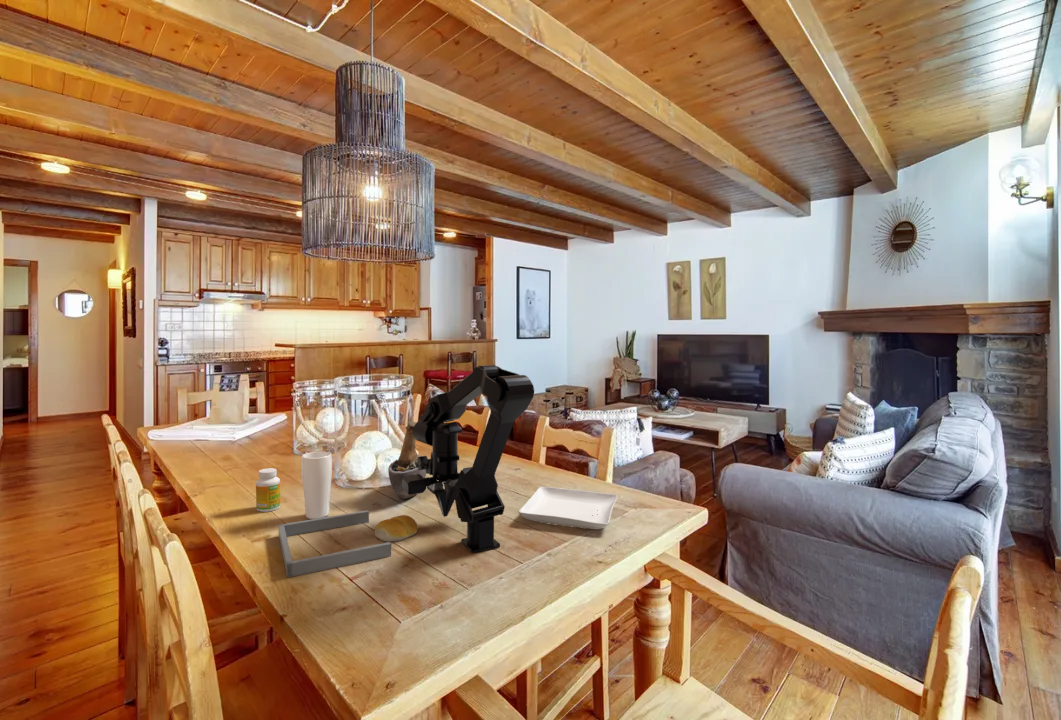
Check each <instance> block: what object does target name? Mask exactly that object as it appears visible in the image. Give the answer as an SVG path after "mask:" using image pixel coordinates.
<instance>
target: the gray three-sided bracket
mask: <svg viewBox="0 0 1061 720" xmlns="http://www.w3.org/2000/svg"><path fill="white" fill-rule="evenodd" d="M369 522H370V511H369V510H368V509H367V510H361V511H356V512H349V513H348V512H347V513H342V514H337V515H331V516H326V517H324V518H317V519H306V520H300V521H294V522H293V521H292V522H288V523H283V524H282V523H281V524H278V539H279V544H280V550H281V553H282V554H281V555H282V559H283V563H284V568H285V573H286V578H292V577H297V576H298V577H299V576H302V575H307V574H311V573H316V572H321V571H325V570H331V569H335V568H336V569H337V568H340V567H344V566H350V565H354V564H359V563H363V562H368V561H369V562H370V561H373V560H379V559H383V558H387V557H391V556H392V543H391V542H383V543H377V544H373V545H372V544H371V545H367V546H363V547H358V548H353V549H346V550H342V551H338V552H337V551H336V552H331V553H327V554H322V555H317V556H311V557H308V558H307V557H306V558H301V559H296V560H293V557H292V553H291V549H290V546H289V541H288V537H291V536H296V535H297V536H298V535H302V534H303V535H304V534H307V533H308V534H309V533H314V532H319V531H325V530H332V529H337V528H336V527H338V528H341V527H342V528H343V527H348V526H354V525H360V524H365V523H369ZM331 528H332V529H331Z"/></svg>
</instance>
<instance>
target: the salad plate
mask: <svg viewBox="0 0 1061 720" xmlns="http://www.w3.org/2000/svg"><path fill="white" fill-rule="evenodd" d="M617 500H618V495H617V494H613V493H606V492H597V491H596V492H595V491H589V490H581V489H580V490H579V489H571V488H561V487H551V486H539V487H538V488H537V490H536V491H535V492H534V493H533V494H532V495H531V496H530V498H529V499H528V500H527V501H526V502H525V503H524V505H522V506H521V507H520V509H519V510H518V514H519V515H520V516H521V517H523V518H525V519H526V520H528V521H533V522H536V521H537V523H539V522H542V523H541V524H545V523H550V524H549V525H552V524H557V525H556V526H560V525H565V526H564V527H568V526H573V527H572V528H576V527H582V528H581V529H584V528H590V529H589V530H602V529H604V528H606V527H607V526H608V525H609V523H610V520H611V517H612V513H613V508H614V506H615V504H616V502H617ZM597 510H598V511H597ZM597 514H598V515H597ZM592 515H593V516H592Z"/></svg>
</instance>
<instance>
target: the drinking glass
mask: <svg viewBox="0 0 1061 720" xmlns="http://www.w3.org/2000/svg"><path fill="white" fill-rule="evenodd" d="M332 459H333V458H332V453H331V452H328V451H311V452H307V453H303V454H302V455H301V459H300V460H301V463H300V464H301V465H300V466H301V480H302V491H303V499H304V508H305V511H304V512H305V514H304V515H305V518H307V519H308V520H311V519H317V518H324V517H329V515H330V503H331V501H330V500H331V489H332V476H333V473H332V472H333V460H332Z"/></svg>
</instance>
